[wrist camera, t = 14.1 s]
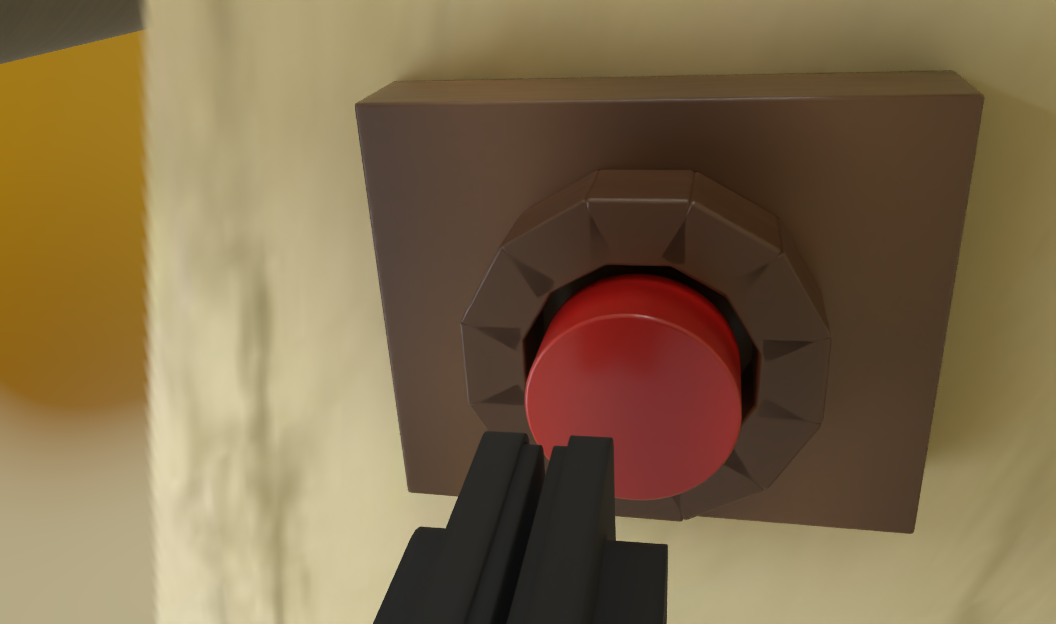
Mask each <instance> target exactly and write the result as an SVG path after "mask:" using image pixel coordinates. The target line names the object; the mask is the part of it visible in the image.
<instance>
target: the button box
mask: <svg viewBox="0 0 1056 624" xmlns="http://www.w3.org/2000/svg"><path fill="white" fill-rule="evenodd" d="M983 104H984V95H983V94H982V93H981V92H980V91H978V90H977V89H976V88H975V87H973V86H972V85H971V84H970V83H968V82H967V81H966V80H965V79H963V78H962V77H961V76H960V75H958V74H957V73H956V72H954V71H908V72H856V73H805V74H753V75H702V76H650V77H599V78H548V79H496V80H445V81H394V82H392V83H391V84H389V85H387V86H385V87H384V88H382V89H380V90H378V91H377V92H375V93H373V94H371V95H370V96H368V97H366V98H364V99H363V100H361V101H359V102H357V103H356V104H355V111H356V119H357V126H358V133H359V140H360V147H361V155H362V162H363V169H364V176H365V183H366V191H367V198H368V205H369V212H370V219H371V227H372V234H373V241H374V248H375V255H376V263H377V270H378V277H379V284H380V291H381V299H382V306H383V313H384V320H385V327H386V335H387V342H388V349H389V356H390V363H391V371H392V378H393V385H394V392H395V399H396V407H397V414H398V421H399V428H400V435H401V443H402V450H403V457H404V464H405V471H406V479H407V486H408V491H409V492H411V493H424V494H436V495H448V496H459V494H460V491H461V489H462V486H463V484H464V481H465V478H466V476H467V473H468V471H469V468H470V466H471V463H472V461H473V458H474V456H475V453H476V451H477V448H478V446H479V443H480V440H481V438H482V436H483V434H484V432H486V431H496V432H515V433H527V435H528V438H529V443H530V444H534V445H538V444H537V443H536V441H535V439H534V437H533V435H532V432H531V430H530V428H529V424H528V421H527V417H526V411H525V388H526V382H527V378H528V375H529V372H530V369H531V367H532V364H533V362H534V359H535V357H536V355H537V352H538V350H539V347H540V345H541V343H542V340H543V338H544V335H545V333H546V331H547V328H548V326H549V324H550V322H551V320H552V318H553V316H554V315H555V313H556V312H557V311H558V309H559V308H560V307H561V305H562V304H563V303H564V302H565V301H566V300H567V299H568V298H569V297H571V296H572V295H573V294H574V293H576V292H577V291H578V290H580V289H582V288H583V287H585V286H587V285H589V284H591V283H593V282H596V281H598V280H600V279H604V278H607V277H611V276H616V275H623V274H650V275H656V276H661V277H666V278H669V279H672V280H675V281H678V282H680V283H682V284H684V285H686V286H688V287H691V288H692V289H694V290H695V291H697V292H699V293H700V294H702V295H703V296H704V297H705V298H707V299H708V300H709V301H710V302H711V303H713V304H714V305H715V307H716V308H717V309H718V310H719V311H720V312H721V313H722V314H723V316H724V317H725V319H726V320H727V322H728V323H729V325H730V327H731V329H732V331H733V333H734V335H735V338H736V341H737V344H738V347H739V353H740V360H741V402H742V420H741V428H740V432H739V436H738V439H737V442H736V444H735V446H734V448H733V450H732V452H731V454H730V455H729V457H728V458H727V460H726V461H725V463H724V464H723V465H722V466H721V467H720V468H719V469H718V470H717V471H716V472H715V473H714V474H713V475H712V476H711V477H709V478H708V479H707V480H706V481H704V482H703V483H701V484H699V485H698V486H696V487H695V488H692V489H690V490H688V491H686V492H684V493H681V494H678V495H674V496H671V497H667V498H662V499H655V500H627V499H620V498H615V516H621V517H633V518H645V519H657V520H669V521H682V520H683V519H684V520H688V519H690V518H693V517H696V516H702V517H714V518H726V519H738V520H750V521H762V522H774V523H787V524H799V525H811V526H823V527H835V528H847V529H859V530H871V531H883V532H895V533H908V534H912V533H913V532H914V529H915V523H916V517H917V511H918V504H919V498H920V492H921V486H922V480H923V474H924V468H925V461H926V455H927V449H928V443H929V437H930V431H931V424H932V418H933V412H934V406H935V400H936V394H937V387H938V381H939V375H940V369H941V363H942V357H943V350H944V344H945V338H946V332H947V326H948V320H949V314H950V307H951V301H952V295H953V289H954V283H955V277H956V270H957V264H958V258H959V252H960V246H961V240H962V233H963V227H964V221H965V215H966V209H967V203H968V197H969V190H970V184H971V178H972V172H973V166H974V160H975V153H976V147H977V141H978V135H979V129H980V123H981V116H982V110H983ZM544 463H545V476H546V472H547V468H548V464H549V460H548V459H547V457H546V456H545V455H544Z"/></svg>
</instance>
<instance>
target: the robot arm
mask: <svg viewBox="0 0 1056 624" xmlns="http://www.w3.org/2000/svg"><path fill="white" fill-rule="evenodd" d="M667 576H668V545H667V544H653V543H639V542H625V541H616V534H615V482H614V443H613V438H612V437H595V436H575V435H571V436H570V438H569V441H568V446H554V447H553V449H552V453H551V457H550V460H549V464H548V468H547V472H546V476H545V463H544V450H543V446H542V445H534V444H530V443H529V438H528V435H527V433H515V432H496V431H486V432H484V434H483V436H482V438H481V440H480V443H479V446H478V448H477V451H476V453H475V456H474V458H473V461H472V463H471V466H470V468H469V471H468V473H467V476H466V478H465V481H464V484H463V486H462V489H461V491H460V494H459V496H458V499H457V501H456V504H455V506H454V509H453V511H452V514H451V516H450V519H449V522H448V524H447V527H446V529H445V528H431V527H419V528H418V529H416V530H415V532H414V534H413V535H412V537H411V539H410V541H409V543H408V546H407V548H406V550H405V552H404V555H403V557H402V559H401V561H400V564H399V566H398V568H397V570H396V573H395V575H394V577H393V579H392V582H391V584H390V586H389V589H388V591H387V593H386V595H385V598H384V600H383V602H382V604H381V607H380V609H379V611H378V613H377V616H376V618H375V620H374V622H373V624H666V623H667Z"/></svg>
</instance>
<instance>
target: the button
mask: <svg viewBox="0 0 1056 624" xmlns="http://www.w3.org/2000/svg"><path fill="white" fill-rule="evenodd" d="M525 411H526V417H527V421H528V424H529V428H530V430H531V432H532V435H533V437H534V439H535V441H536V443H537V444H538V445H542V446H543V450H544V455H545V456H546V457H547V459H548V460H550V457H551V453H552V449H553V447H554V446H568V441H569V438H570V436H571V435H575V436H595V437H612V438H613V443H614V482H615V498H620V499H627V500H655V499H662V498H667V497H671V496H674V495H678V494H681V493H684V492H686V491H688V490H690V489H692V488H695V487H696V486H698V485H699V484H701V483H703V482H704V481H706V480H707V479H708V478H709V477H711V476H712V475H713V474H714V473H715V472H716V471H717V470H718V469H719V468H720V467H721V466H722V465H723V464H724V463H725V461H726V460H727V458H728V457H729V455H730V454H731V452H732V450H733V448H734V446H735V444H736V442H737V439H738V436H739V432H740V428H741V420H742V402H741V360H740V353H739V347H738V344H737V341H736V338H735V335H734V333H733V331H732V329H731V327H730V325H729V323H728V322H727V320H726V319H725V317H724V316H723V314H722V313H721V312H720V311H719V310H718V309H717V308H716V307H715V305H714V304H713V303H711V302H710V301H709V300H708V299H707V298H705V297H704V296H703V295H702V294H700V293H699V292H697V291H695V290H694V289H692V288H691V287H688V286H686V285H684V284H682V283H680V282H678V281H675V280H672V279H669V278H666V277H661V276H656V275H650V274H623V275H616V276H611V277H607V278H604V279H600V280H598V281H596V282H593V283H591V284H589V285H587V286H585V287H583V288H582V289H580V290H578V291H577V292H576V293H574V294H573V295H572V296H571V297H569V298H568V299H567V300H566V301H565V302H564V303H563V304H562V305H561V307H560V308H559V309H558V311H557V312H556V313H555V315H554V316H553V318H552V320H551V322H550V324H549V326H548V328H547V331H546V333H545V335H544V338H543V340H542V343H541V345H540V347H539V350H538V352H537V355H536V357H535V359H534V362H533V364H532V367H531V369H530V372H529V375H528V378H527V382H526V388H525Z"/></svg>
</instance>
